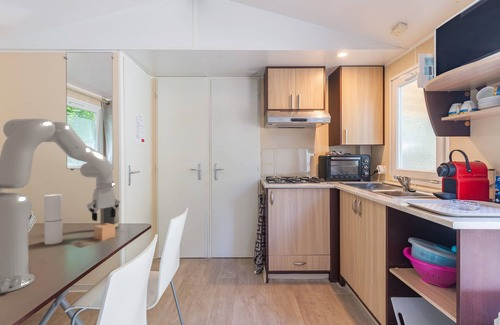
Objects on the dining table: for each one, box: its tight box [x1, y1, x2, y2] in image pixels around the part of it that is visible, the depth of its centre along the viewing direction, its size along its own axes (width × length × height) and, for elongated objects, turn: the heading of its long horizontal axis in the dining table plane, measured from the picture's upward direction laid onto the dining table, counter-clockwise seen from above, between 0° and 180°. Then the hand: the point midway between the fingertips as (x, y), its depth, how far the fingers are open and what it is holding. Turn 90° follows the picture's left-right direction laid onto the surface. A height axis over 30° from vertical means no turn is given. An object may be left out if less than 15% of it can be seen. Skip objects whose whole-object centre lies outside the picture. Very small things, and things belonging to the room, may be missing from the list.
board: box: [68, 235, 120, 248], centre depth 132 cm, size 20×10×2 cm, turn 151°
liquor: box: [99, 181, 120, 230], centre depth 155 cm, size 9×9×30 cm
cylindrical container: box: [43, 193, 63, 245], centre depth 129 cm, size 7×7×25 cm
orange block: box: [93, 223, 116, 241], centre depth 137 cm, size 7×7×6 cm
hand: (104, 218), depth 136 cm, fingers open, 9 cm apart
